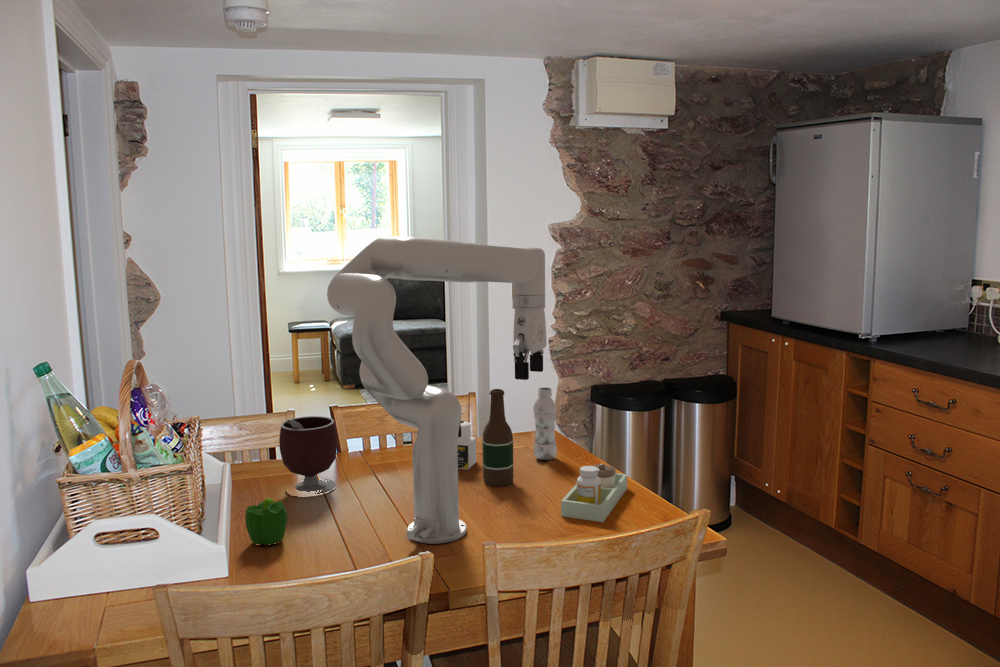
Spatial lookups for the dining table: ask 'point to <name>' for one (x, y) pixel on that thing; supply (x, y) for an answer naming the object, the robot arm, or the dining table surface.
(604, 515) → the caddy
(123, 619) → the dining table surface
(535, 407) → the plastic bottle
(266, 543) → the bell pepper
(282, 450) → the mate gourd
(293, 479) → the dining table surface
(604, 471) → the jar
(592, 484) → the supplement bottle
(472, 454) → the medicine bottle
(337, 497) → the dining table surface
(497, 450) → the beer bottle
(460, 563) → the dining table surface
